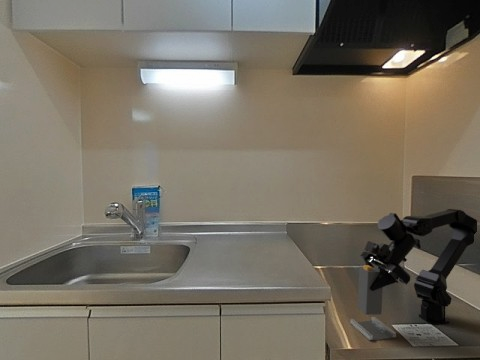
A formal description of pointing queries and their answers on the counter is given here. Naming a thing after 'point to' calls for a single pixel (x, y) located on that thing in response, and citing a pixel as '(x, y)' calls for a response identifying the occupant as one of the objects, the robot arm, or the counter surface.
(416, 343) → the counter surface
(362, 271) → the block
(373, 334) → the rail seat
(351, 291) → the counter surface
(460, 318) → the counter surface
